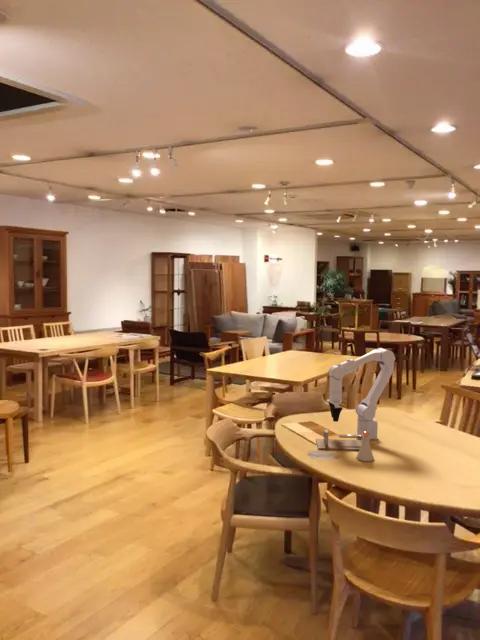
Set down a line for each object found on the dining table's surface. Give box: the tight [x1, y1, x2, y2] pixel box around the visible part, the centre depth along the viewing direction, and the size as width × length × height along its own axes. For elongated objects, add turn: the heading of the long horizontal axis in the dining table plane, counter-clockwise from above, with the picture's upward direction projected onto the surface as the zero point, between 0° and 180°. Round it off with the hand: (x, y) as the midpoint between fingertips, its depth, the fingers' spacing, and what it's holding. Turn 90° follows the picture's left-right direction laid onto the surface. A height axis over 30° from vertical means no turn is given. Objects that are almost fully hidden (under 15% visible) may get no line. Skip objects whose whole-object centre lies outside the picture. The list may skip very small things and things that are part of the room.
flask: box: [355, 435, 375, 462], centre depth 247 cm, size 7×7×10 cm
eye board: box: [315, 429, 362, 452], centre depth 265 cm, size 22×14×7 cm, turn 87°
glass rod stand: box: [338, 431, 369, 441], centre depth 265 cm, size 13×5×5 cm, turn 87°
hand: (334, 419), depth 276 cm, fingers open, 7 cm apart
